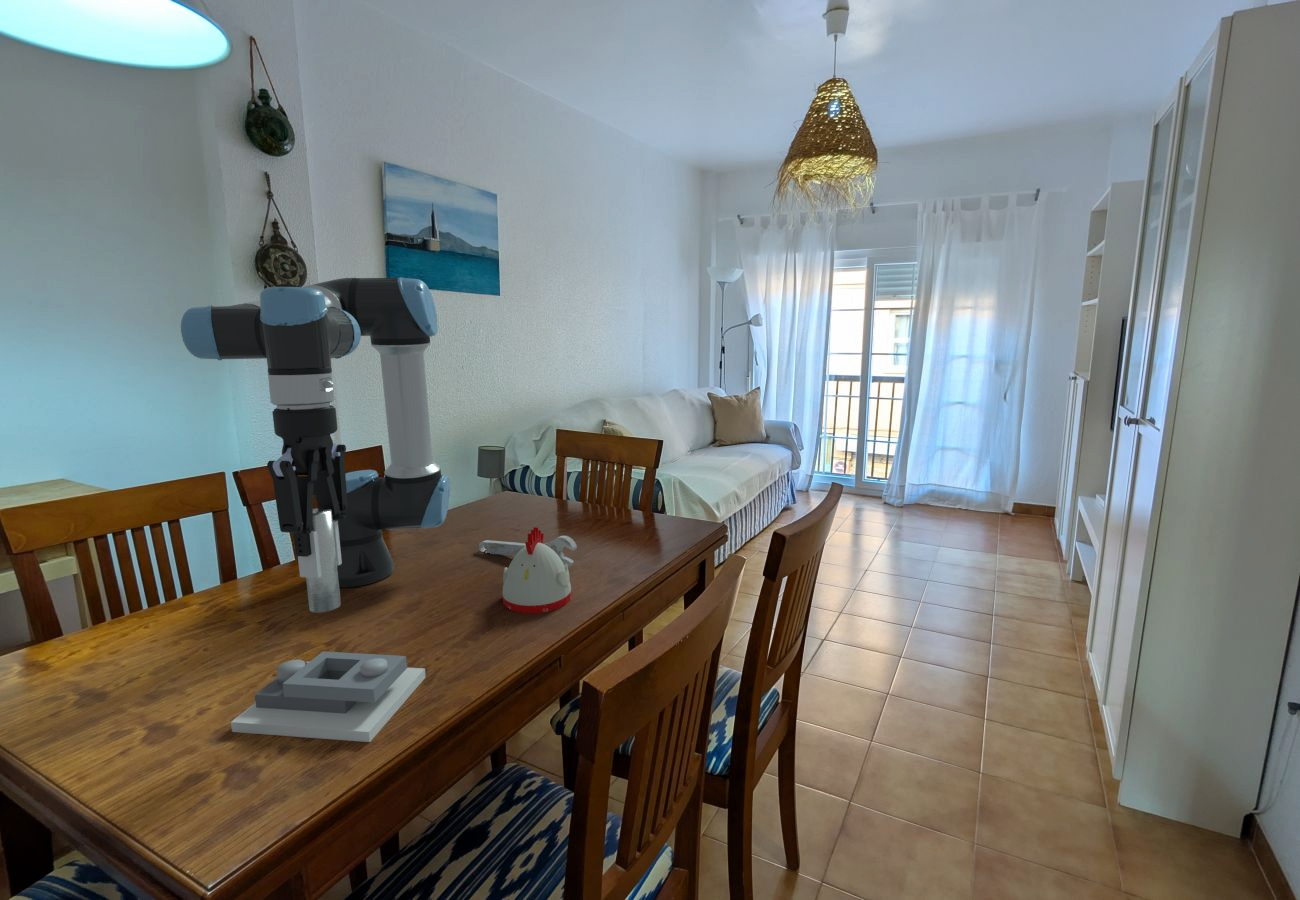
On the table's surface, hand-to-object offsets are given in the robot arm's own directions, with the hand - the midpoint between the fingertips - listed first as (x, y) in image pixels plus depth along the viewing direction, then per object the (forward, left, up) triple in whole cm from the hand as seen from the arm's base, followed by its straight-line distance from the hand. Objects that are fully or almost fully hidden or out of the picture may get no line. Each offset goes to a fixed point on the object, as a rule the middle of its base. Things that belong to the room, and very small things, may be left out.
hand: (321, 569), depth 88 cm
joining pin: (0, 0, -6) cm, 6 cm away
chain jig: (0, 0, -21) cm, 21 cm away
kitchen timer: (+19, +39, -21) cm, 48 cm away
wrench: (+10, +59, -21) cm, 64 cm away
